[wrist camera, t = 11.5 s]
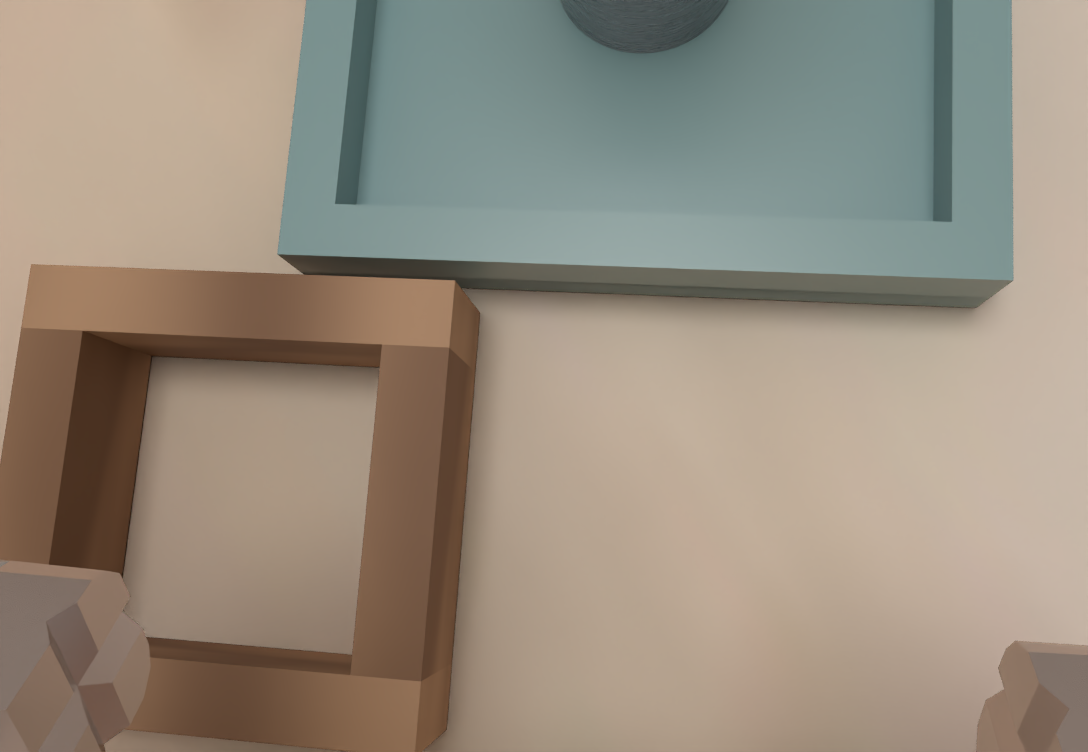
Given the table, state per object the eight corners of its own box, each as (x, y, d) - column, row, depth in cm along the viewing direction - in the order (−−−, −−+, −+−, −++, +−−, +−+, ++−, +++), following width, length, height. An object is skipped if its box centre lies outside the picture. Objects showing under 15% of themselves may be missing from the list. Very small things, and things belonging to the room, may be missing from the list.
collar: (49, 691, 20) (-39, 713, 17) (105, 296, 21) (30, 264, 18) (446, 729, 19) (414, 757, 16) (479, 312, 20) (454, 280, 17)
